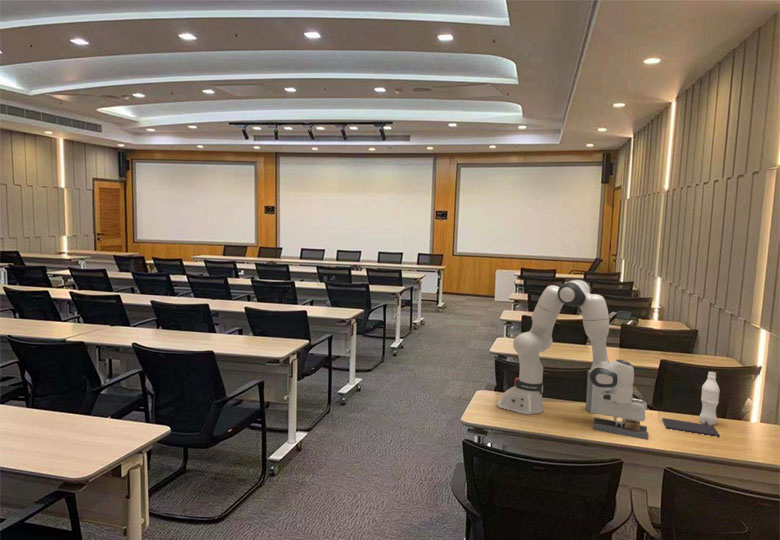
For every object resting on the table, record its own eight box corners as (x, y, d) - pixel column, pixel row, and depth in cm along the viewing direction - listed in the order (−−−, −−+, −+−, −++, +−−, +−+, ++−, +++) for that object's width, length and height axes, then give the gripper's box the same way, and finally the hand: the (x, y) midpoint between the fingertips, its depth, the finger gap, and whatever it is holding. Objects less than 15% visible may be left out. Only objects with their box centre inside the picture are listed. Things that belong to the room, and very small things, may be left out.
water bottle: (696, 423, 239) (701, 371, 237) (701, 419, 244) (705, 369, 242) (714, 427, 234) (719, 375, 232) (718, 424, 239) (722, 372, 237)
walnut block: (624, 433, 221) (625, 422, 220) (624, 429, 226) (624, 418, 226) (639, 436, 218) (640, 425, 218) (638, 431, 224) (639, 421, 223)
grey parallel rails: (593, 429, 224) (593, 424, 224) (593, 422, 233) (594, 417, 233) (647, 439, 215) (648, 433, 215) (646, 431, 224) (646, 426, 224)
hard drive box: (616, 410, 252) (619, 371, 251) (622, 415, 244) (625, 375, 243) (584, 408, 254) (587, 369, 252) (589, 413, 246) (592, 373, 245)
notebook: (665, 429, 230) (719, 438, 222) (665, 426, 230) (719, 435, 222) (661, 420, 241) (712, 429, 234) (662, 417, 241) (713, 425, 234)
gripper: (646, 398, 222) (644, 429, 223) (597, 391, 230) (594, 420, 231) (647, 402, 216) (645, 433, 217) (596, 394, 224) (594, 424, 225)
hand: (618, 426), depth 224 cm, fingers closed
